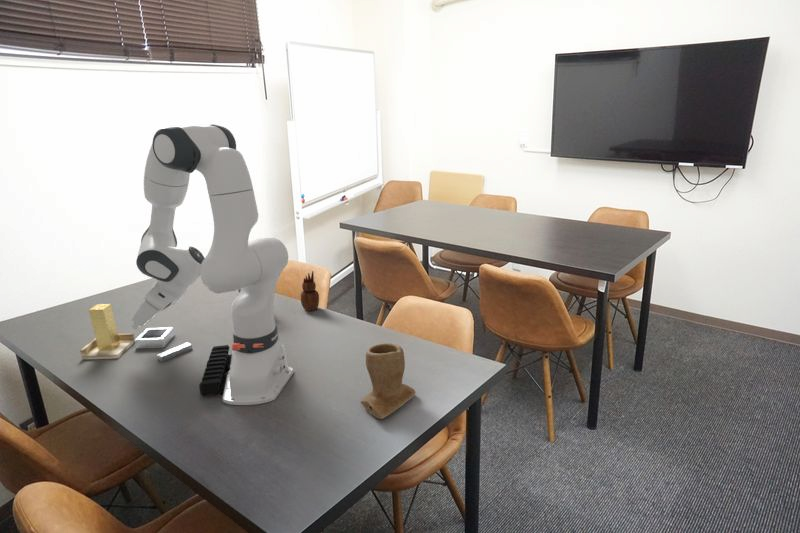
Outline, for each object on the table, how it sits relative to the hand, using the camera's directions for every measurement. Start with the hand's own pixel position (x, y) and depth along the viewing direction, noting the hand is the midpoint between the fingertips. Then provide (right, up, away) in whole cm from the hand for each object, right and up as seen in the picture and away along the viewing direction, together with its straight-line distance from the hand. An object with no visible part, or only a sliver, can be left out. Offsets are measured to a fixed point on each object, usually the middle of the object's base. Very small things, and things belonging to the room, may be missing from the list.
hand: (141, 321), depth 153 cm
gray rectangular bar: (+11, -11, 0) cm, 15 cm away
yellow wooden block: (-12, -9, +3) cm, 15 cm away
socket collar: (0, -8, +8) cm, 11 cm away
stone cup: (+78, -18, -27) cm, 84 cm away
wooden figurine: (+48, +1, +31) cm, 57 cm away
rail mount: (+29, -15, -14) cm, 35 cm away
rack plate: (-12, -10, +3) cm, 16 cm away
